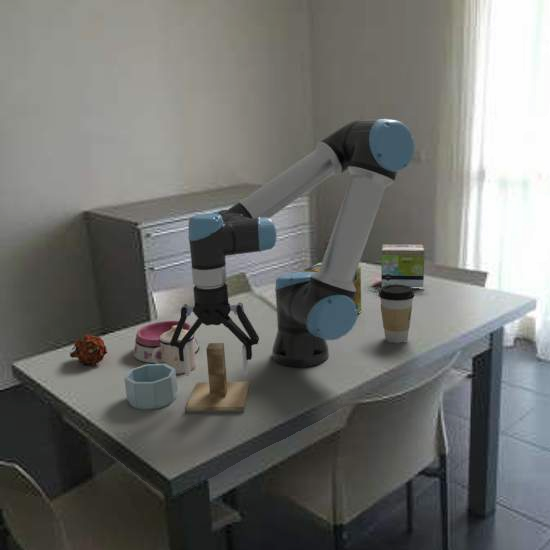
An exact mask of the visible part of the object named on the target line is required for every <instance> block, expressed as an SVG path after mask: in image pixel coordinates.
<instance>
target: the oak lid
mask: <svg viewBox="0 0 550 550" xmlns="http://www.w3.org/2000/svg"><path fill="white" fill-rule="evenodd" d="M225 352H226V351H225V343H224V342H210V343H208V344H207V346H206V361H207V374H208V381H207V382H205V381H204V382H195V385H194V388H193V390H192V393H191V394H190V397H189V400H188V402H187V405H186V406H185V412H186V411H206V410H244V411H245V409H244V407H245V408H246V405H245V403H246V404H247V401H246V398H247V399H248V396H247V394H248V395H249V392H248V390H249V391H250V388H249V386H250V385H251V383H250V381H228V380H227V379H228V378H227V368H226V367H227V366H226V365H227V364H226V356H225V354H226V353H225ZM250 387H251V386H250Z"/></svg>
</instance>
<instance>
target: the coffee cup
mask: <svg viewBox="0 0 550 550" xmlns="http://www.w3.org/2000/svg"><path fill="white" fill-rule="evenodd" d="M378 297H379V298H380V310H381V319H382V328H383V329H384V339H386V340H387V341H386V340H385V341H386V342H388V341H389V342H388V343H390V342H394V343H393V344H401V343H400V342H403V343H406V342H407V341H408V339H409V329H410V325H411V319H412V311H413V310H412V309H413V298H414V297H415V292H414V291H413V289H412V288H411V287H409V286H406V285H387V286H383V287H382V286H381V288H380V291H379V292H378ZM405 341H406V342H405Z"/></svg>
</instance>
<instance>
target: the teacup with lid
mask: <svg viewBox="0 0 550 550" xmlns="http://www.w3.org/2000/svg"><path fill="white" fill-rule="evenodd" d="M176 327H177V325H175V326H173V327H172V329H171V330H169V331H168V332H165V333H163V334H162V335H161V336H160V338H159V341H160V344H161V347H157V348H156V349H155V350H154V351H153V352H152V359H153V361H154V363H155V364H167V365H169V366H171V367H173V368H175V370H176V375H178V374H185V365H184V361H180V358H179V349H178V348H177V347H175V346H173V347H172V346H170V342H171V339H172V337H173V334H174V332H175V330H176ZM188 331H189V330H184V329H182V331H181V333H180V336H179V338H178V340H182V339H183V337H184V336H185V335H186V333H187V332H188ZM194 334H195V333H194ZM194 334H193V335H192V337H191V338H190V339H189V341H188V342H187V343H186V344H185V345H189V355H190V366H191V371H193V370H194V369H195V368H196V366H197V365H196V364H197V363H196V354H195V350H194ZM160 350H161V354H162V362H158V361H157V360H156V353H157V352H158V351H160Z"/></svg>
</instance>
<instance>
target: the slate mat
mask: <svg viewBox="0 0 550 550" xmlns="http://www.w3.org/2000/svg"><path fill="white" fill-rule="evenodd" d="M250 387H251V386H249V390H248V394H247V398H246V403H245V407H244V410H206V411H186V410H185V413H186V414H211V413H212V414H217V413H221V414H224V413H226V414H227V413H231V414H232V413H245V410H246V409H245V408H246V405H247V400H248V396H249V391H250Z"/></svg>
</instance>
